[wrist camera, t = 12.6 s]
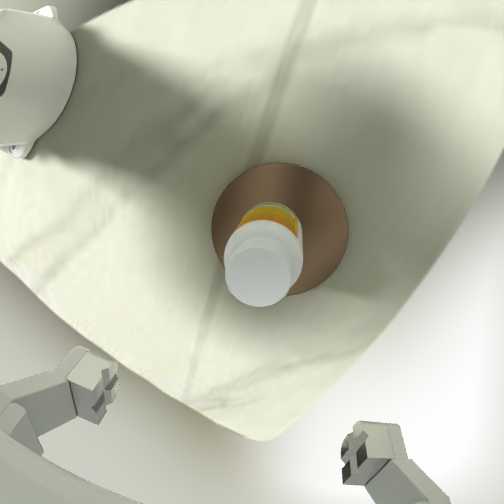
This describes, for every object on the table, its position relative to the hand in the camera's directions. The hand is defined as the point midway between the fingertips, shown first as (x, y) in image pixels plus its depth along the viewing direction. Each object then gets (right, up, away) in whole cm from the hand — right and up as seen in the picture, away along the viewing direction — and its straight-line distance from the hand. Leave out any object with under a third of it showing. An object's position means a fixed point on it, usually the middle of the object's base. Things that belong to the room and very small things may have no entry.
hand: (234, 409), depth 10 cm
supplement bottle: (+2, +7, +19) cm, 20 cm away
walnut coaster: (+3, +7, +20) cm, 21 cm away
